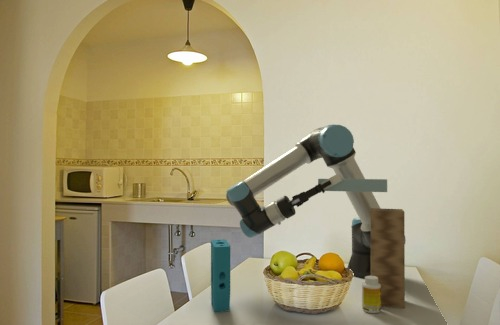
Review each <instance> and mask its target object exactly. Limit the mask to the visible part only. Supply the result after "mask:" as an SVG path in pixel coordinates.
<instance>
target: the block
mask: <svg viewBox="0 0 500 325" xmlns="http://www.w3.org/2000/svg"><path fill="white" fill-rule="evenodd" d="M210 296H211V297H210V300H211V301H210V302H211V306H212V310H213V312H215V313H216V312H217V313H218V312H219V313H220V312H229V311H230V309H231V308H230V307H231V306H230V305H231V245H230V243H229V242H228V240H227V239H210Z"/></svg>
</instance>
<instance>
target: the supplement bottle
mask: <svg viewBox="0 0 500 325" xmlns="http://www.w3.org/2000/svg"><path fill="white" fill-rule="evenodd" d="M361 309H362V310H363V312H365V313H367V314H368V313H369V314H379V313H381V311H382V306H381V285H380V284H379V283H378V277H376V276H365V278H364V282H362V285H361Z"/></svg>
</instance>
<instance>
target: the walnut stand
mask: <svg viewBox="0 0 500 325" xmlns="http://www.w3.org/2000/svg"><path fill="white" fill-rule="evenodd" d="M405 240H406V236H405V210H403V209H402V208H381V209H379V208H371V276H376V277H378V283H379V284H380V285H381V307H389V308H397V307H398V308H399V309H406V308H405V307H406V306H405V305H406V304H405V298H406V297H405V295H406V294H405V292H406V291H405V290H406V289H405V288H406V287H405V285H406V283H405V282H406V281H405V270H406V269H405V265H406V264H405V253H406V251H405V247H406V246H405V245H406V241H405Z"/></svg>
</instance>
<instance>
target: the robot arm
mask: <svg viewBox="0 0 500 325" xmlns="http://www.w3.org/2000/svg"><path fill="white" fill-rule="evenodd" d="M354 140H355V139H354V135H353V134H352V132H351V130H350V129H348V128H347V127H346V126H343V125H341V124H328V125H325V126H323V127H322V126H321V127H318V128H316V129H314V130H313V131H311V132H310V133H309V134H307V135H306V136H305V137H303V138H302V139H301V140H299V141H298V142H296V143H295V147H293V148H292V149H290V150H289V151H287V152H285V153H284V154H282V155H281V156H279V157H278V158H276V159H274V160H273V161H272V162H270V163H269V164H267V165H266V166H264V167H262V168H261V169H259V170H258V171H256V172H254V173H253V174H251V175H250V176H248V177H247V178H245V179H244V180H242V181H238V182H236V183H235V184H233V185H232V186H230V187H229V188H228V189H227V190H226V195H225V196H226V199H227V200H226V201H227V203H228V204H229V205H231V206H233V207H234V208H235V210H236V211H237V213H239V215H240V217H241V219H240V221H239V227H240V229H241V232H242V233H243V234H244V235H245V237H247V238H249V239H251V238H254V237H256V236H258V235H261V234H263V233H264V232H266V231H268V230H269V229H271V228H272V227H274V226H276V225H279V226H280V225H281V224H282V223H281V222H283V221H285V220H286V219H287V220H288V219H289V218H291V217H293V216H294V215H296V209H295V206H296V207H297V208H299V207H300V206H302V205H303V204H305V203H307V202H308V201H309V199H311V198H312V197H314V196H316V195H318V194H319V193H322V194H325V193H326V191H324V190H326V189H328V188H330V187H331V186H333V185H335V184H337V183H339V182H340V181H342V180H341V179H366V178H365V176H364V174H363V172H362V171H361V169H360V167H359V164H358V163H357V161H356V159H355V157H356V153H357V152H356V150H355V148H354V143H355V141H354ZM321 158H322V159H323V161H324V164H325V165H326V166H327V168H329V169H332V170H333V171H334V173H335V174H334V175H333V176H330V177H329V178H326V179H327V180H325V181H323V182H322V183H321V184H318V183H317V184H315V186H314V187H312V188H309V189H308V190H306V191H303V192H300V193H298V194H294V195H293V196H292V197H291V199H289V198H290V197H288V196H287V195H283V196H281V197H279V198H278V199H276V200H274V201H272V202H270V203H268V204H267V205H264V206H263V207H261V205H260V204H259V203H258V201H257V200H256V198H255V197H256V196H257V195H259V194H261V193H262V192H263V191H265V190H267V189H268V188H270V187H272V186H273V185H275V184H276V183H278V182H279V181H281V180H282V179H284V178H286V176H288V175H290V174H291V173H292V172H295V171H296V170H297V169H299V168H300V167H301V166H303V165H305V164H309V165H310V164H311V163H313V162H314V161H316V160H319V159H321ZM344 192H345V194H346V195H347V198H348V199H349V201H350V203H351V205H352V207H353V209H354V210H355V212H356V214H357V216H358V217H355V218H353V219H352V220H351V227H350V228H351V256H350V259H349V262H348V265H347V269H348V268H349V269H351V270H352V271H353V273H354V277H356V278H357V277H358V278H362V279H363V278H364V279H365V276H371V208H379V209H382V208H381V206H380V204H379V203H378V200H377V199H376V197H375V195H374V192H352V191H344ZM405 242H406V239H405Z"/></svg>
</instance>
